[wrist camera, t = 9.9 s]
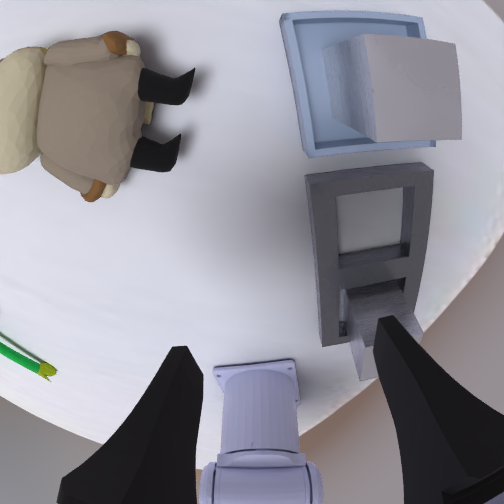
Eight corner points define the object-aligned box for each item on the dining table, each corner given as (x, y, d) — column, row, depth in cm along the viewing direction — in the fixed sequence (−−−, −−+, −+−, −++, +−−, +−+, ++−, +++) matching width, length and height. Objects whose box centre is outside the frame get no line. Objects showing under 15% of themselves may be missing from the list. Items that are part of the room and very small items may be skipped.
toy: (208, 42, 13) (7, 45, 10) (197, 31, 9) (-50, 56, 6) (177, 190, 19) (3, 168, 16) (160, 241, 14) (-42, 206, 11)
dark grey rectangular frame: (403, 315, 24) (409, 328, 22) (319, 333, 24) (322, 347, 23) (421, 162, 16) (433, 170, 15) (304, 175, 17) (309, 184, 16)
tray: (420, 139, 15) (435, 146, 14) (302, 149, 16) (308, 158, 15) (406, 21, 11) (422, 17, 10) (279, 21, 12) (282, 13, 10)
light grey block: (395, 114, 14) (461, 139, 9) (332, 118, 15) (377, 142, 9) (388, 49, 12) (455, 43, 7) (321, 50, 13) (363, 33, 7)
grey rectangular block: (385, 307, 23) (411, 368, 18) (341, 316, 23) (360, 381, 18) (390, 271, 21) (423, 332, 15) (342, 280, 21) (365, 347, 16)
